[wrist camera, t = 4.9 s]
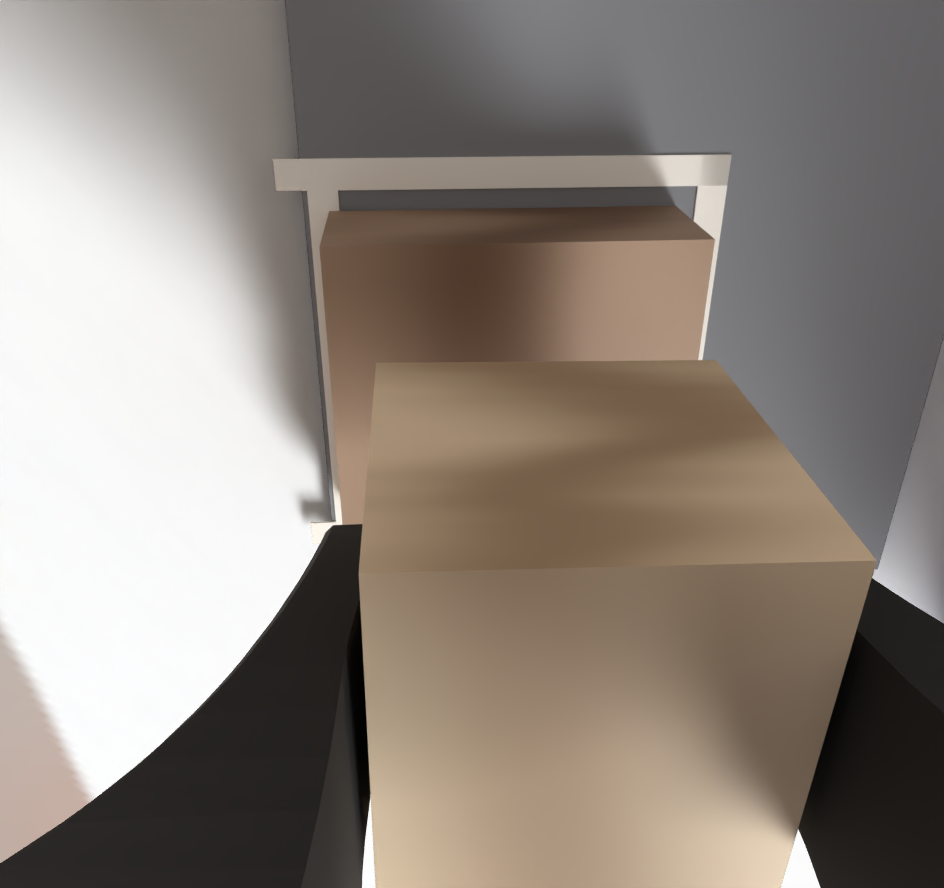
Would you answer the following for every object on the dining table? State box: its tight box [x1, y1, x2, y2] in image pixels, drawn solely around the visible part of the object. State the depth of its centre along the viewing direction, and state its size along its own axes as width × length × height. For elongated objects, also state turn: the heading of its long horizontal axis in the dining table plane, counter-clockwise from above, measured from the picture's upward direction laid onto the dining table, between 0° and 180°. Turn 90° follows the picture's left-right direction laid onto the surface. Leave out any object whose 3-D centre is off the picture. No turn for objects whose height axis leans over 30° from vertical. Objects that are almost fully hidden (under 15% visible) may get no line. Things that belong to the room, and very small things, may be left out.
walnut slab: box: [319, 206, 715, 525], centre depth 18 cm, size 7×7×2 cm
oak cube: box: [359, 360, 877, 888], centre depth 12 cm, size 5×5×5 cm
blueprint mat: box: [273, 0, 944, 569], centre depth 18 cm, size 14×18×1 cm
